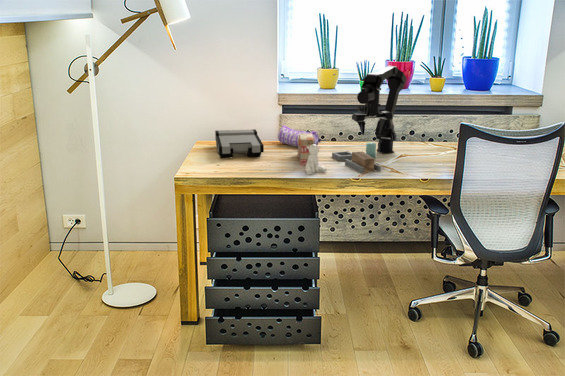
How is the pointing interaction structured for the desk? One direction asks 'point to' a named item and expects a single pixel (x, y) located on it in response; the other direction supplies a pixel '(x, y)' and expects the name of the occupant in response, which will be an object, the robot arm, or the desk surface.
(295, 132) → the pencil case
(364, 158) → the block
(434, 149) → the desk surface
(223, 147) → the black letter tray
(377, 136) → the robot arm
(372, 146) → the nose cylinder
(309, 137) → the stack of blocks
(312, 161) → the sitting furry creature
